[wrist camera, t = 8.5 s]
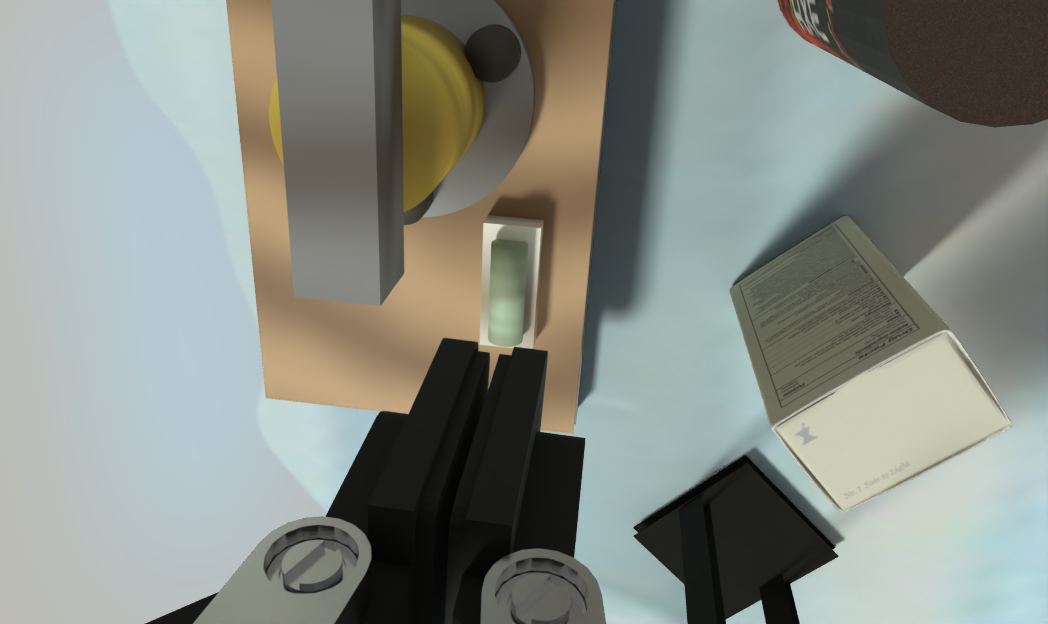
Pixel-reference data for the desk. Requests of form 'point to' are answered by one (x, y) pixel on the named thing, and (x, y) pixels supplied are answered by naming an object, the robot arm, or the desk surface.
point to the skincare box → (859, 368)
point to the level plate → (434, 242)
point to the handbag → (736, 546)
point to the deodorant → (941, 51)
